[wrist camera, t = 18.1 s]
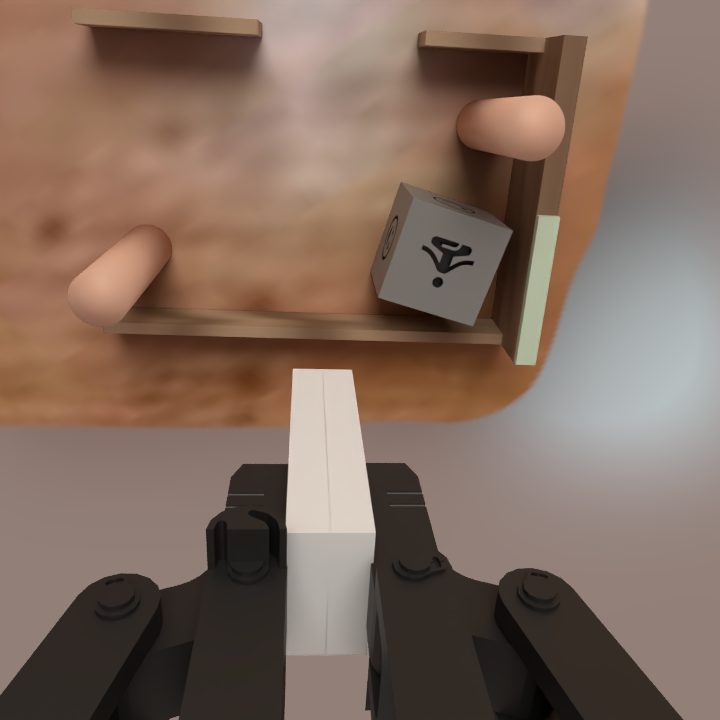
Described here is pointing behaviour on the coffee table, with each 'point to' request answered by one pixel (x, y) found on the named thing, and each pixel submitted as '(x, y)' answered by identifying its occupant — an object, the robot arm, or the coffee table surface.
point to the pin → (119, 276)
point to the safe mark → (536, 289)
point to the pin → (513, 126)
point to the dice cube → (438, 254)
